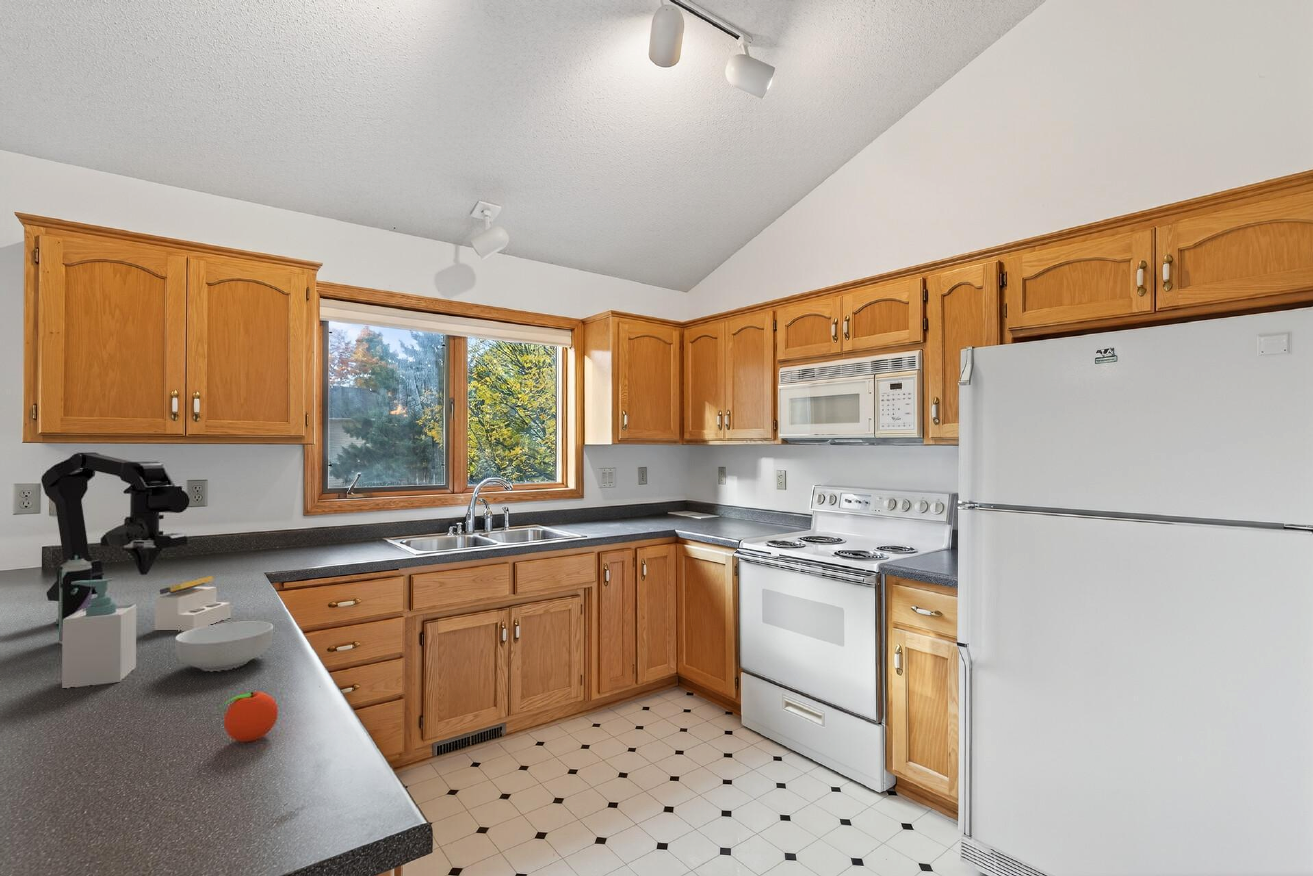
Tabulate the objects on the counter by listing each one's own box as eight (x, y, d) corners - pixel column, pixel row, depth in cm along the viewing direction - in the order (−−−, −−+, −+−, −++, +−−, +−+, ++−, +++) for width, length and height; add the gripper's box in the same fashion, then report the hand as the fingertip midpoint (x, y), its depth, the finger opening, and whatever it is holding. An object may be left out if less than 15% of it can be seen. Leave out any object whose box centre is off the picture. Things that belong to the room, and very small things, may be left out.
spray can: (71, 645, 143) (72, 556, 143) (52, 643, 144) (53, 555, 144) (97, 637, 148) (98, 552, 149) (78, 636, 150) (79, 551, 150)
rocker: (161, 596, 155) (159, 589, 155) (194, 587, 165) (192, 581, 165) (181, 590, 155) (180, 584, 155) (213, 582, 165) (212, 575, 165)
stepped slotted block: (155, 630, 154) (155, 597, 154) (194, 617, 166) (195, 586, 166) (193, 631, 153) (193, 598, 154) (230, 618, 165) (231, 587, 166)
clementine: (210, 755, 92) (210, 705, 92) (221, 735, 98) (221, 689, 98) (274, 744, 95) (274, 697, 95) (281, 726, 101) (281, 681, 101)
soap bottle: (80, 674, 125) (81, 576, 125) (136, 668, 128) (137, 573, 128) (60, 689, 117) (61, 585, 117) (120, 682, 120) (120, 581, 120)
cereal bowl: (284, 664, 130) (284, 629, 130) (184, 687, 118) (185, 648, 118) (259, 647, 141) (259, 615, 142) (166, 666, 129) (166, 631, 129)
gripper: (78, 514, 152) (77, 580, 151) (150, 516, 150) (149, 582, 150) (122, 510, 163) (121, 571, 162) (189, 511, 161) (188, 573, 161)
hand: (143, 574), depth 158 cm, fingers closed
